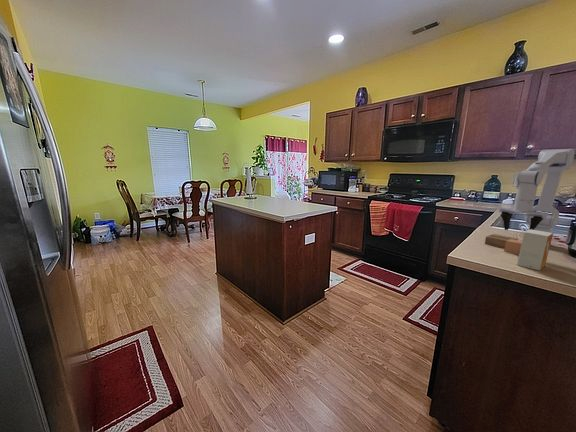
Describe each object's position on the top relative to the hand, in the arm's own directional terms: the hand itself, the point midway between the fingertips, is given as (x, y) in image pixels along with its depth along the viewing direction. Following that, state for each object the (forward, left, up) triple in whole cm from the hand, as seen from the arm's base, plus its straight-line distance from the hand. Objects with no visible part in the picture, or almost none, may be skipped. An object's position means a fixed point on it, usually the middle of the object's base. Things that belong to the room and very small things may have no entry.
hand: (517, 231), depth 101 cm
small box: (+12, +9, -10) cm, 18 cm away
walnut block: (-8, -7, -10) cm, 15 cm away
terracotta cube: (-1, 0, -10) cm, 10 cm away
